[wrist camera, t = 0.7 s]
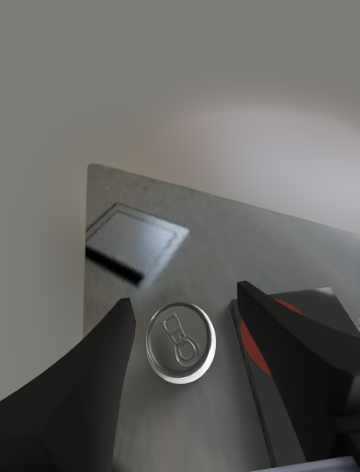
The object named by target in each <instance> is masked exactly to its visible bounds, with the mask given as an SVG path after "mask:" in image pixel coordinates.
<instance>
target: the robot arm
mask: <svg viewBox="0 0 360 472" xmlns="http://www.w3.org/2000/svg"><path fill="white" fill-rule="evenodd" d="M237 302H238V309H239V312H240V314H241V317H242V319H243V322H244V323H245V325H246V327H247V329H248V331H249V333H250V334H251V336H252V338H253V340H254V342H255V344H256V345H257V347H258V349H259V351H260V353H261V354H262V356H263V358H264V360H265V362H266V364H267V366H268V369H269V371H270V373H271V376H272V378H273V380H274V382H275V385H276V387H277V389H278V392H279V394H280V396H281V399H282V401H283V403H284V406H285V408H286V411H287V413H288V416H289V418H290V421H291V423H292V426H293V428H294V431H295V433H296V436H297V438H298V441H299V444H300V446H301V449H302V451H303V454H304V457H305V459H306V462H307V463H301V464H295V465H289V466H282V467H276V468H270V469H263V470H257V471H251V472H360V338H359V337H356V336H353V335H350V334H347V333H344V332H342V331H339V330H336V329H334V328H331V327H329V326H326V325H324V324H321V323H319V322H317V321H314V320H312V319H310V318H308V317H306V316H304V315H302V314H300V313H298V312H296V311H294V310H292V309H290V308H288V307H286V306H285V305H283V304H281V303H279V302H278V301H276V300H275V299H273V298H271V297H270V296H268V295H267V294H265V293H264V292H262V291H261V290H259V289H258V288H256V287H255V286H253V285H252V284H250V283H249V282H247V281H241V282H237ZM135 326H136V320H135V316H134V312H133V308H132V305H131V301H130V297H129V298H122V299H120V300H119V301H118V302H117V303H116V304H115V305H114V307H113V308H112V309H111V310H110V311H109V312H108V313H107V315H106V316H105V317H104V318H103V319H102V320H101V321H100V322H99V323H98V324H97V325H96V326H95V328H94V329H93V330H92V331H91V332H90V333H89V334H88V335H87V336H86V337H85V338H84V339H83V340H82V341H81V342H79V343H78V344H77V345H76V346H75V347H74V348H73V349H72V350H70V351H69V352H68V353H67V354H66V355H65V356H63V357H62V358H61V359H59V360H58V361H57V362H56V363H55V364H53V365H52V366H51V367H49V368H48V369H47V370H46V371H44V372H43V373H42V374H40V375H39V376H38V377H36V378H35V379H33V380H32V381H30V382H29V383H27V384H26V385H24V386H23V387H21V388H20V389H19V390H17V391H15V392H14V393H12V394H11V395H9V396H8V397H6V398H4V399H3V400H1V401H0V472H111V468H112V458H113V450H114V442H115V434H116V426H117V419H118V412H119V405H120V399H121V393H122V386H123V381H124V377H125V372H126V368H127V364H128V360H129V356H130V352H131V348H132V344H133V340H134V334H135Z"/></svg>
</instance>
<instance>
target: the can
mask: <svg viewBox="0 0 360 472" xmlns="http://www.w3.org/2000/svg"><path fill="white" fill-rule="evenodd" d="M145 347H146V354H147V357H148V360H149V362H150V364H151V366H152V368H153V369H154V371H155V372H156V373H157V374H158V375H159V376H160V377H162V378H163V379H165V380H167V381H169V382H172V383H176V384H185V383H190V382H192V381H195V380H197V379H198V378H200V377H201V376H202V375H203V374H204V373H205V372H206V371H207V369H208V368H209V366H210V365H211V363H212V360H213V358H214V354H215V349H216V337H215V332H214V328H213V325H212V323H211V321H210V319H209V318H208V316H207V315H206V314H205V313H204V312H203V311H202V310H201V309H200V308H199V307H197V306H195V305H193V304H191V303H188V302H184V301H174V302H170V303H168V304H165V305H164V306H162V307H161V308H159V309H158V310H157V311H156V312H155V313H154V315H153V316H152V318H151V319H150V321H149V323H148V326H147V329H146V335H145Z"/></svg>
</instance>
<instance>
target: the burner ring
mask: <svg viewBox="0 0 360 472" xmlns="http://www.w3.org/2000/svg"><path fill="white" fill-rule="evenodd" d="M275 300H276V301H278V302H279V303H281V304H283V305H285V306H286V307H288V308H290V309H292V310H294V311H296V312H298V313H300V314H302V313H301V312H300V311H299V310H298V309H297V308H295V307H294V306H292V305H290V304H288V303H286V302H284V301H281V300H278V299H275ZM302 315H303V314H302ZM240 331H241V338H242V342H243V345H244V347H245V349H246V351H247V353H248V355H249V356H250V358H251V359H252V360H253V362H254V363H255V364H256V365H257V366H258V367H259V368H260V369H261V370H262V371H264V372H265V373H266V374H268V375H270V376H271V373H270V371H269V369H268V366H267V364H266V362H265V360H264V358H263V356H262V354H261V353H260V351H259V349H258V347H257V345H256V344H255V342H254V340H253V338H252V336H251V334H250V333H249V331H248V329H247V327H246V325H245V323H244V322H243V319H241V324H240ZM271 377H272V376H271Z"/></svg>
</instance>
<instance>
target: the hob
mask: <svg viewBox="0 0 360 472" xmlns="http://www.w3.org/2000/svg"><path fill="white" fill-rule="evenodd" d="M268 296H270V297H271V298H273V299H278V300H281V301H284V302H286V303H288V304H290V305H292V306H294V307H295V308H297V309H298V310H299V311H300V312H301V313H302V314H303V315H304V316H306V317H308V318H310V319H312V320H314V321H317V322H319V323H321V324H324V325H326V326H329V327H331V328H334V329H336V330H339V331H342V332H344V333H347V334H350V335H353V336H356V337H359V338H360V332H359V331H358V329H357V328H356V326H355V325H354V323H353V322H352V320H351V318H350V317H349V315H348V314H347V312H346V311H345V309H344V308H343V306H342V305H341V303H340V301H339V300H338V298H337V297H336V295H335V294H334V292H333V291H332V289H331V288H330V287H323V288H316V289H308V290H301V291H294V292H286V293H279V294H272V295H268ZM229 307H230V311H231V314H232V318H233V322H234V326H235V330H236V333H237V337H238V341H239V345H240V348H241V352H242V356H243V360H244V364H245V367H246V371H247V375H248V379H249V383H250V386H251V390H252V394H253V398H254V402H255V405H256V409H257V413H258V417H259V420H260V424H261V428H262V432H263V436H264V439H265V443H266V447H267V451H268V455H269V458H270V462H271V466H272V468H276V467H282V466H289V465H295V464H301V463H307V462H306V459H305V457H304V454H303V451H302V449H301V446H300V444H299V441H298V438H297V436H296V433H295V431H294V428H293V426H292V423H291V421H290V418H289V416H288V413H287V411H286V408H285V406H284V403H283V401H282V399H281V396H280V394H279V392H278V389H277V387H276V385H275V382H274V380H273V378H272V377H271V376H270V375H268V374H266V373H265V372H264V371H262V370H261V369H260V368H259V367H258V366H257V365H256V364H255V363H254V362H253V360H252V359H251V358H250V356H249V355H248V353H247V351H246V349H245V347H244V345H243V342H242V338H241V331H240V324H241V319H242V317H241V314H240V312H239V309H238V302H237V299H235V300H231V302H230V304H229Z"/></svg>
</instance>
